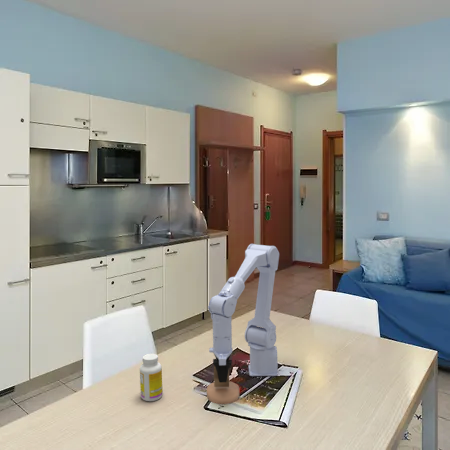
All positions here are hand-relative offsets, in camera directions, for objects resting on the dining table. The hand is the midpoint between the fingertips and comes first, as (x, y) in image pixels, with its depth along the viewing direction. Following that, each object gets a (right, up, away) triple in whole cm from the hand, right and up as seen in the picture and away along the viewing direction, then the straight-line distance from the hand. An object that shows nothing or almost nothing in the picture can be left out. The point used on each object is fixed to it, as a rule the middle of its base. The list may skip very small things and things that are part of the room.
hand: (222, 377), depth 129 cm
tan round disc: (0, -6, +1) cm, 6 cm away
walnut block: (0, -2, 0) cm, 2 cm away
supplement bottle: (-22, -6, +1) cm, 23 cm away
